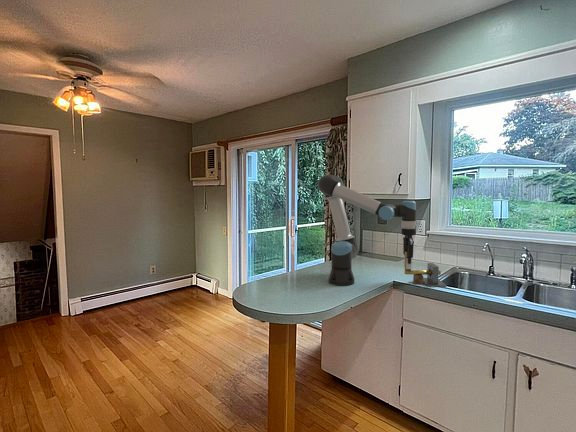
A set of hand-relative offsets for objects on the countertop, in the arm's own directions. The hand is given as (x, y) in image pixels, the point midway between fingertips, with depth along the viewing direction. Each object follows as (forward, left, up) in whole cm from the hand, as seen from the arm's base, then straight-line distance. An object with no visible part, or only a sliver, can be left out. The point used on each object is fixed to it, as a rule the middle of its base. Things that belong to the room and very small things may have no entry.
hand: (407, 267), depth 183 cm
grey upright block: (+14, 0, -9) cm, 16 cm away
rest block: (+6, 0, -9) cm, 10 cm away
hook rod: (+8, 0, -4) cm, 9 cm away
